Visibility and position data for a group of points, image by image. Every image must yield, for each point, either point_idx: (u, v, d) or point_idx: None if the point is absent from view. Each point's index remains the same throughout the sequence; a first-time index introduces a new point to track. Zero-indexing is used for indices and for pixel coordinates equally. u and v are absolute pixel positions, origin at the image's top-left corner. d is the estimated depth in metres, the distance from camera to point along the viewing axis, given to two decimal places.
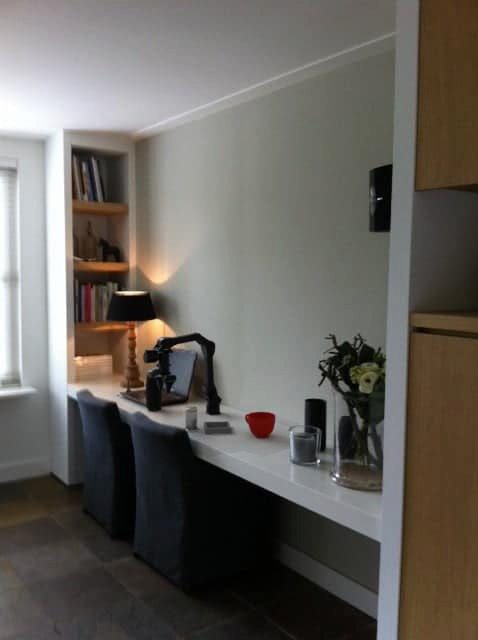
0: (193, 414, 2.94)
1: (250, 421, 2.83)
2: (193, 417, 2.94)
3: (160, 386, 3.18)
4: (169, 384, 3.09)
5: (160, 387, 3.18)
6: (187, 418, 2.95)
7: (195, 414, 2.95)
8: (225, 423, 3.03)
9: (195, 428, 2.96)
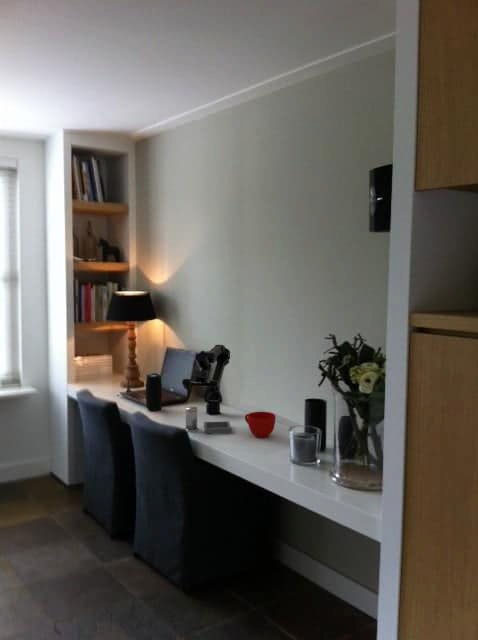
0: (193, 414, 2.94)
1: (250, 421, 2.83)
2: (193, 417, 2.94)
3: (189, 394, 3.07)
4: (210, 391, 3.06)
5: (189, 395, 3.06)
6: (187, 418, 2.95)
7: (195, 414, 2.95)
8: (225, 423, 3.03)
9: (195, 428, 2.96)
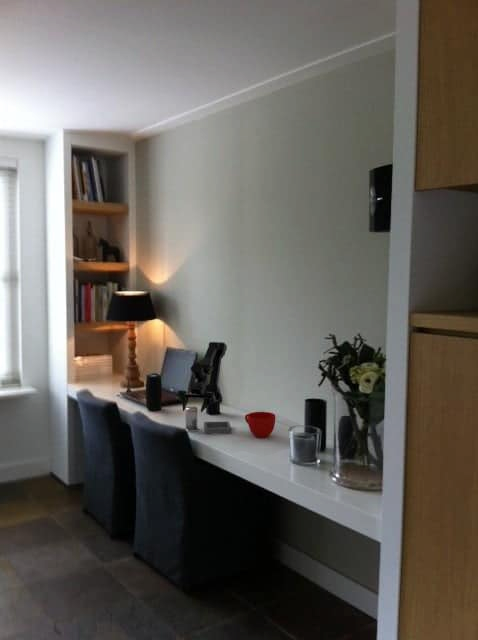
0: (193, 414, 2.94)
1: (250, 421, 2.83)
2: (193, 417, 2.94)
3: (184, 406, 3.00)
4: (206, 403, 2.99)
5: (184, 407, 3.00)
6: (187, 418, 2.95)
7: (195, 414, 2.95)
8: (225, 423, 3.03)
9: (195, 428, 2.96)
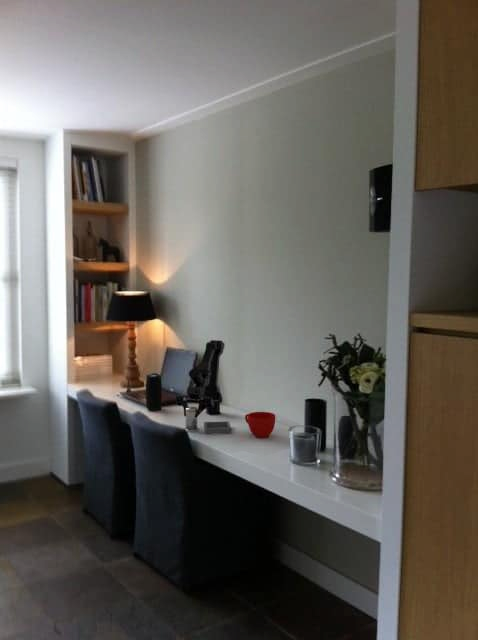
0: (193, 414, 2.94)
1: (250, 421, 2.83)
2: (193, 417, 2.94)
3: (185, 412, 2.97)
4: (201, 408, 2.98)
5: (185, 413, 2.97)
6: (187, 418, 2.95)
7: (195, 414, 2.95)
8: (225, 423, 3.03)
9: (195, 428, 2.96)
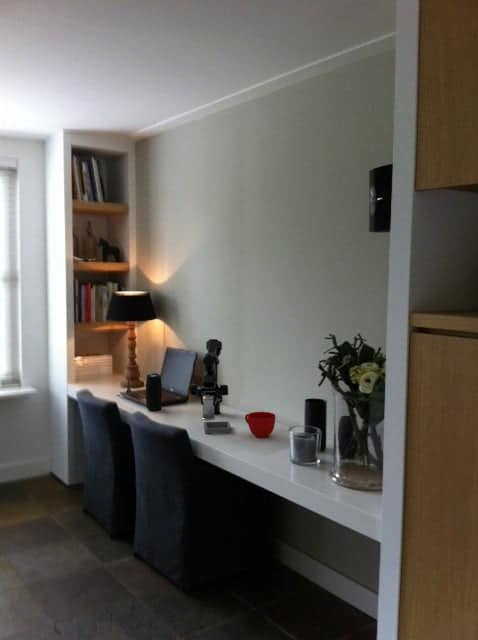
0: (211, 402, 2.94)
1: (250, 421, 2.83)
2: (211, 405, 2.94)
3: (202, 400, 2.96)
4: None
5: None
6: (205, 407, 2.93)
7: (213, 402, 2.95)
8: (225, 423, 3.03)
9: (213, 416, 2.95)
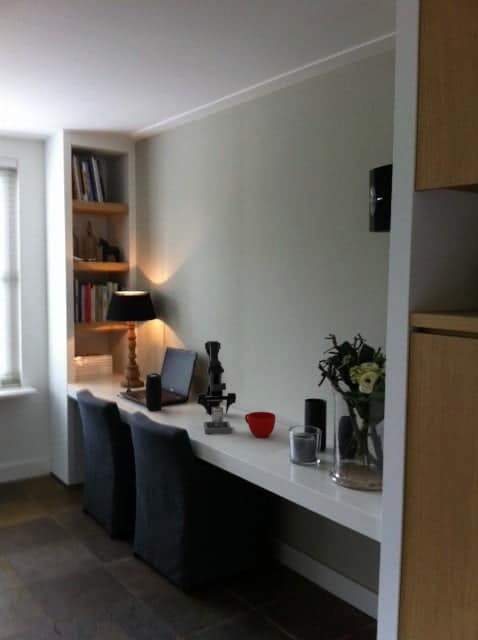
0: (221, 414, 2.95)
1: (250, 421, 2.83)
2: (221, 416, 2.95)
3: (208, 409, 2.96)
4: None
5: None
6: (215, 418, 2.94)
7: (222, 413, 2.96)
8: (225, 423, 3.03)
9: (222, 427, 2.97)
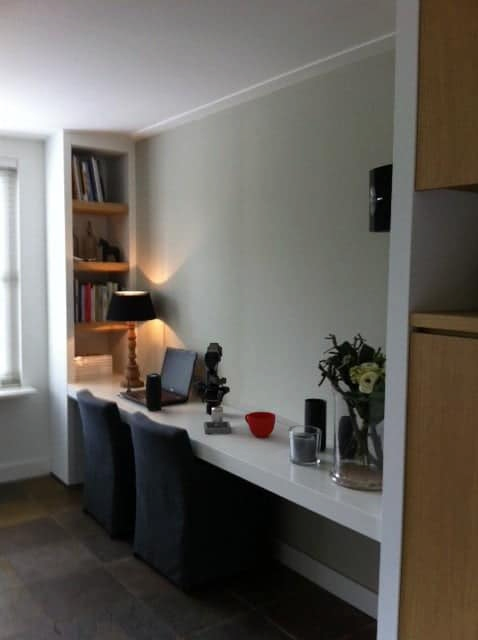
0: (221, 414, 2.95)
1: (250, 421, 2.83)
2: (221, 416, 2.95)
3: None
4: None
5: None
6: (215, 418, 2.94)
7: (222, 413, 2.96)
8: (225, 423, 3.03)
9: (222, 427, 2.97)
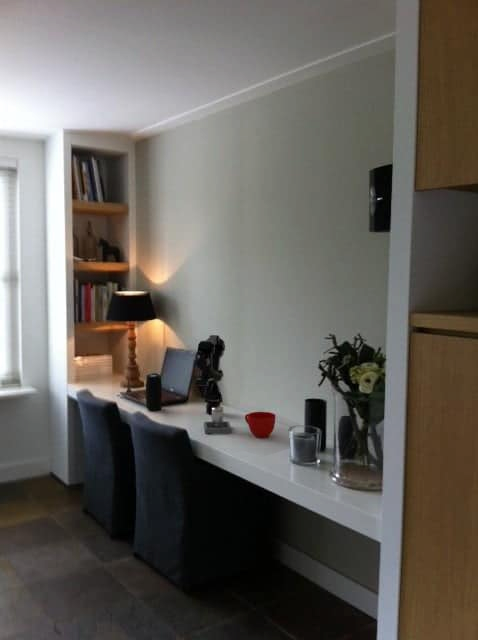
0: (221, 414, 2.95)
1: (250, 421, 2.83)
2: (221, 416, 2.95)
3: None
4: None
5: None
6: (215, 418, 2.94)
7: (222, 413, 2.96)
8: (225, 423, 3.03)
9: (222, 427, 2.97)
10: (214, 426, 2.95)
